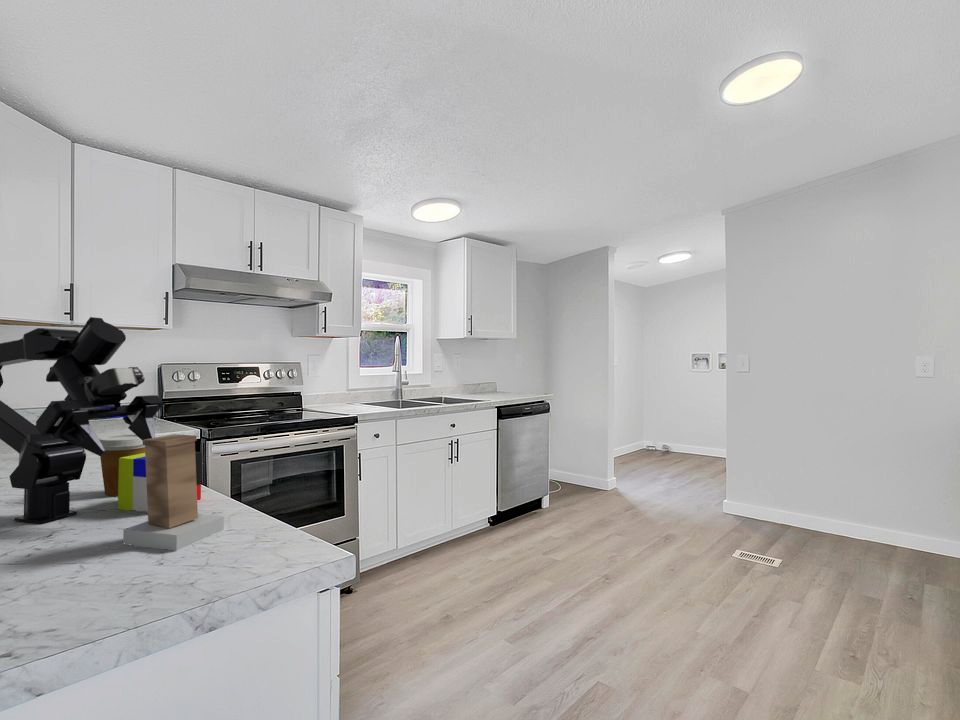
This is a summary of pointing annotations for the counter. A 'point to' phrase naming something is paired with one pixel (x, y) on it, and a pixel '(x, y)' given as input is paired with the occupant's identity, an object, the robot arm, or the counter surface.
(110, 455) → the disposable coffee cup
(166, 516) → the walnut canister
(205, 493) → the counter surface
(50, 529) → the counter surface
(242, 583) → the counter surface
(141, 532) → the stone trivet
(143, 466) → the puzzle toy
